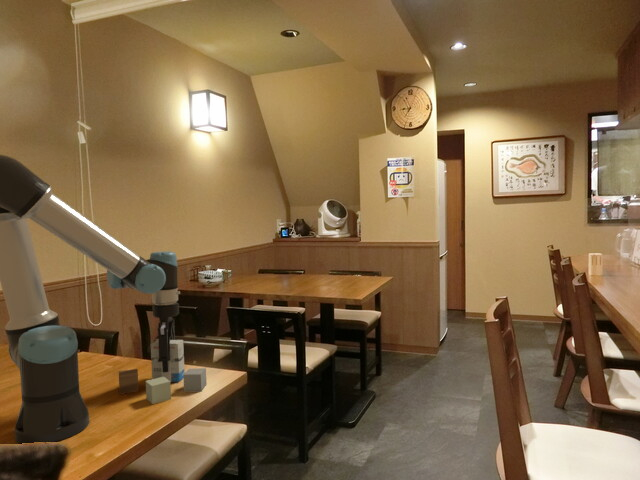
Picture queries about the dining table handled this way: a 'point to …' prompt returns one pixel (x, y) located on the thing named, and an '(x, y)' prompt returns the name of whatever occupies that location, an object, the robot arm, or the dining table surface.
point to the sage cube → (158, 390)
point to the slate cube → (194, 380)
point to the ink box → (175, 358)
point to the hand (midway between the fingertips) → (168, 378)
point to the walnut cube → (128, 381)
